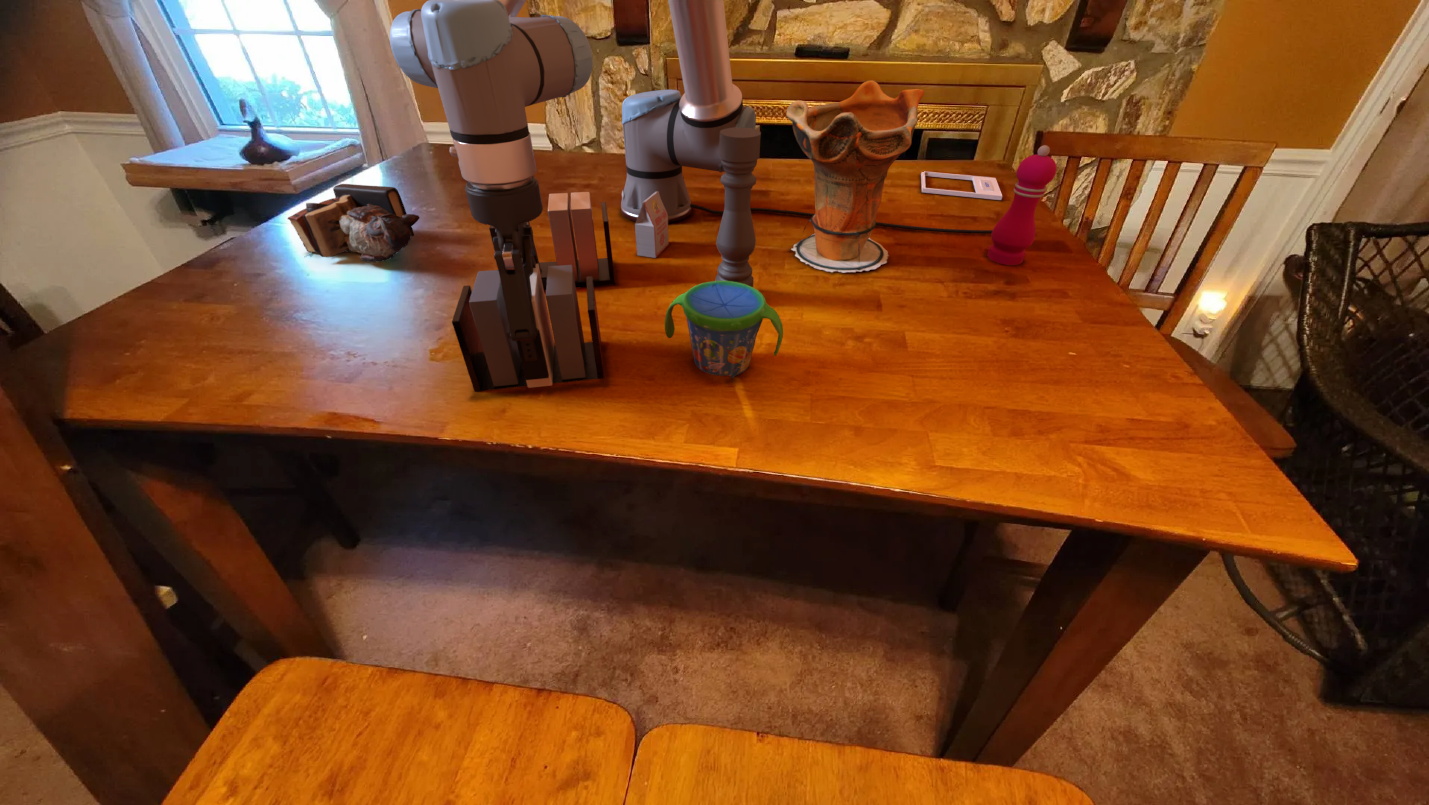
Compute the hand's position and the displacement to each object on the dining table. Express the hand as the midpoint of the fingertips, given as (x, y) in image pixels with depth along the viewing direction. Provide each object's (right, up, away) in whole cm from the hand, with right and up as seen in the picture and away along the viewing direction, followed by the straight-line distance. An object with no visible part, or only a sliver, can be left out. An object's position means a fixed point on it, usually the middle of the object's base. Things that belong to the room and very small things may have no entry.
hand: (539, 353), depth 73 cm
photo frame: (+84, +47, +65) cm, 116 cm away
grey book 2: (+4, -1, +2) cm, 5 cm away
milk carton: (+11, +23, +33) cm, 42 cm away
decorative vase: (+46, +22, +33) cm, 60 cm away
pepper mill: (+78, +21, +32) cm, 87 cm away
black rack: (-4, +15, +23) cm, 28 cm away
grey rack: (0, -2, +2) cm, 3 cm away
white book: (0, -1, +1) cm, 2 cm away
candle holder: (+26, +11, +19) cm, 34 cm away
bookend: (-39, +21, +30) cm, 54 cm away
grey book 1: (-4, -2, 0) cm, 5 cm away
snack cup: (+24, -1, +3) cm, 24 cm away
